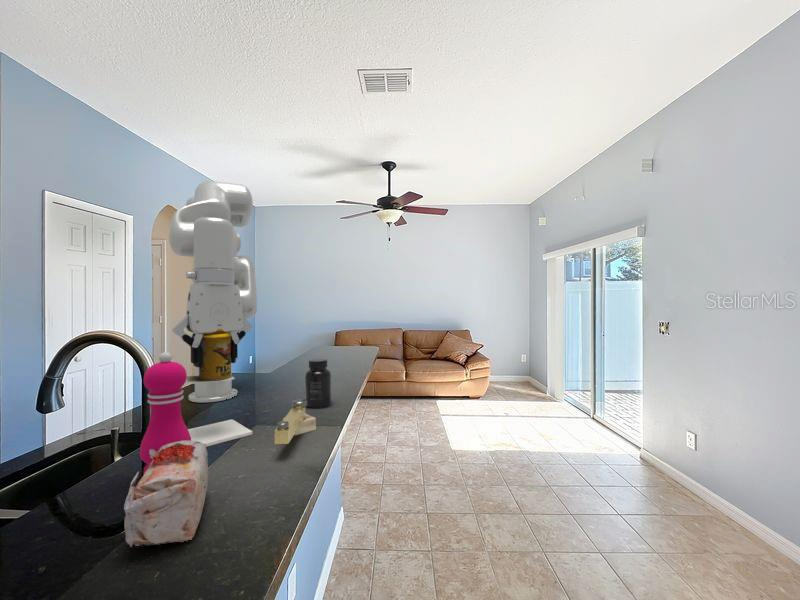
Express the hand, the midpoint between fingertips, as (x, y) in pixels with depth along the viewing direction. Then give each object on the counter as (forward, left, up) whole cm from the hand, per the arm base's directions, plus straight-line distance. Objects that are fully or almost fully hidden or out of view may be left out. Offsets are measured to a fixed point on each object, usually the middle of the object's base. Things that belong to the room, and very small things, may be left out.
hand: (214, 363), depth 79 cm
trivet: (0, 0, -15) cm, 15 cm away
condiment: (0, -1, -3) cm, 3 cm away
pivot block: (+10, +14, -15) cm, 23 cm away
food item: (+28, -15, -15) cm, 35 cm away
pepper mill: (+13, -12, -15) cm, 23 cm away
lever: (+15, +10, -12) cm, 21 cm away
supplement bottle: (-3, +27, -15) cm, 31 cm away
